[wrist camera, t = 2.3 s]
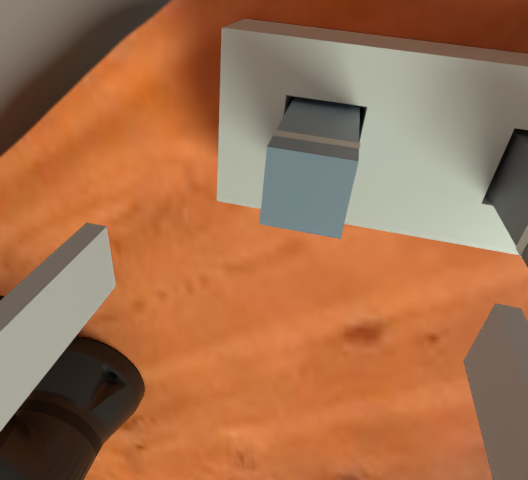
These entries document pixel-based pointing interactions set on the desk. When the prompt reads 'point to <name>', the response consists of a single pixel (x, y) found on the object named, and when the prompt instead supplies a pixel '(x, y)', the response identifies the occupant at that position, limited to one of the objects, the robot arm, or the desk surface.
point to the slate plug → (311, 167)
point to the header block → (379, 122)
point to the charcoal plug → (513, 190)
